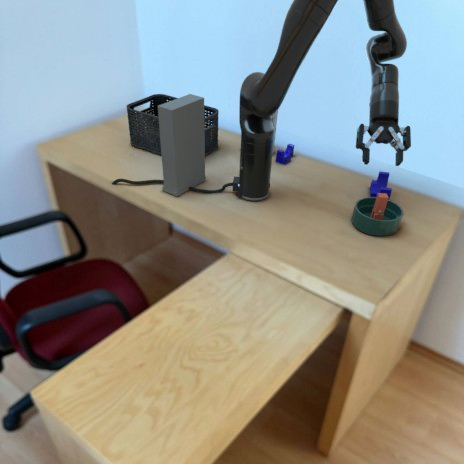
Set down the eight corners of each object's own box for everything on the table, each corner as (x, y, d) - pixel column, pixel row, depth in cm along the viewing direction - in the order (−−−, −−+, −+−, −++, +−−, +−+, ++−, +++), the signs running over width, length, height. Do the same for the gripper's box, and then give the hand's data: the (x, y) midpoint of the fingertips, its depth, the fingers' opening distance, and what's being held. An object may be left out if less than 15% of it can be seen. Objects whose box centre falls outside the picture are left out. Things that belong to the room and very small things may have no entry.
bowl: (355, 236, 119) (360, 220, 116) (347, 211, 129) (351, 196, 125) (403, 237, 119) (409, 222, 116) (391, 213, 129) (396, 197, 125)
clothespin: (372, 225, 122) (380, 198, 117) (369, 219, 125) (377, 192, 119) (380, 226, 122) (389, 198, 117) (378, 219, 125) (386, 192, 119)
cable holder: (284, 164, 151) (285, 153, 148) (275, 161, 152) (276, 150, 149) (296, 157, 155) (298, 146, 153) (288, 154, 157) (289, 143, 154)
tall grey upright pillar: (190, 175, 143) (188, 93, 126) (205, 180, 140) (204, 97, 123) (162, 191, 134) (154, 105, 117) (177, 197, 132) (172, 110, 115)
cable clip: (369, 188, 140) (374, 170, 136) (384, 190, 139) (389, 172, 135) (370, 207, 131) (375, 188, 127) (386, 209, 130) (391, 190, 126)
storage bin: (222, 146, 160) (222, 108, 151) (190, 165, 148) (189, 125, 139) (160, 129, 171) (157, 92, 161) (126, 145, 158) (121, 106, 149)
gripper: (362, 97, 115) (360, 157, 115) (416, 99, 116) (414, 160, 115) (354, 111, 123) (352, 168, 122) (404, 113, 123) (403, 170, 122)
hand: (382, 164), depth 119 cm, fingers open, 8 cm apart
